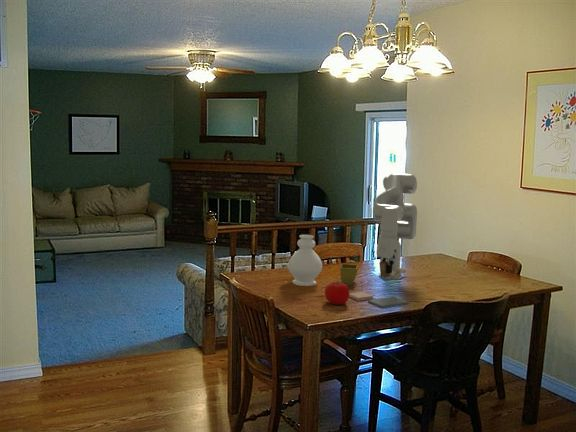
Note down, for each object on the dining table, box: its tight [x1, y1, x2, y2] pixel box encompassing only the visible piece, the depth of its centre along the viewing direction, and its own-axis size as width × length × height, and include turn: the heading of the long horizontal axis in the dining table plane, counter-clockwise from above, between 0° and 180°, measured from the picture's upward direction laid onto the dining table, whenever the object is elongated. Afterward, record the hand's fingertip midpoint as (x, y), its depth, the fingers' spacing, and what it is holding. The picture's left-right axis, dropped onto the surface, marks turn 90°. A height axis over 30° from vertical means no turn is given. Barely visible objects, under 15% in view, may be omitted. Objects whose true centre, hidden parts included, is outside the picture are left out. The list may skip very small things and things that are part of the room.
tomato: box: [324, 281, 350, 306], centre depth 291 cm, size 12×12×10 cm
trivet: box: [367, 295, 409, 309], centre depth 295 cm, size 16×10×1 cm, turn 123°
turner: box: [379, 261, 406, 279], centre depth 293 cm, size 12×5×7 cm, turn 123°
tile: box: [349, 291, 374, 302], centre depth 303 cm, size 2×8×9 cm
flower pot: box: [339, 263, 359, 285], centre depth 329 cm, size 9×9×9 cm
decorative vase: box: [287, 234, 323, 287], centre depth 324 cm, size 18×18×25 cm
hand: (386, 271), depth 292 cm, fingers closed on turner, 3 cm apart
